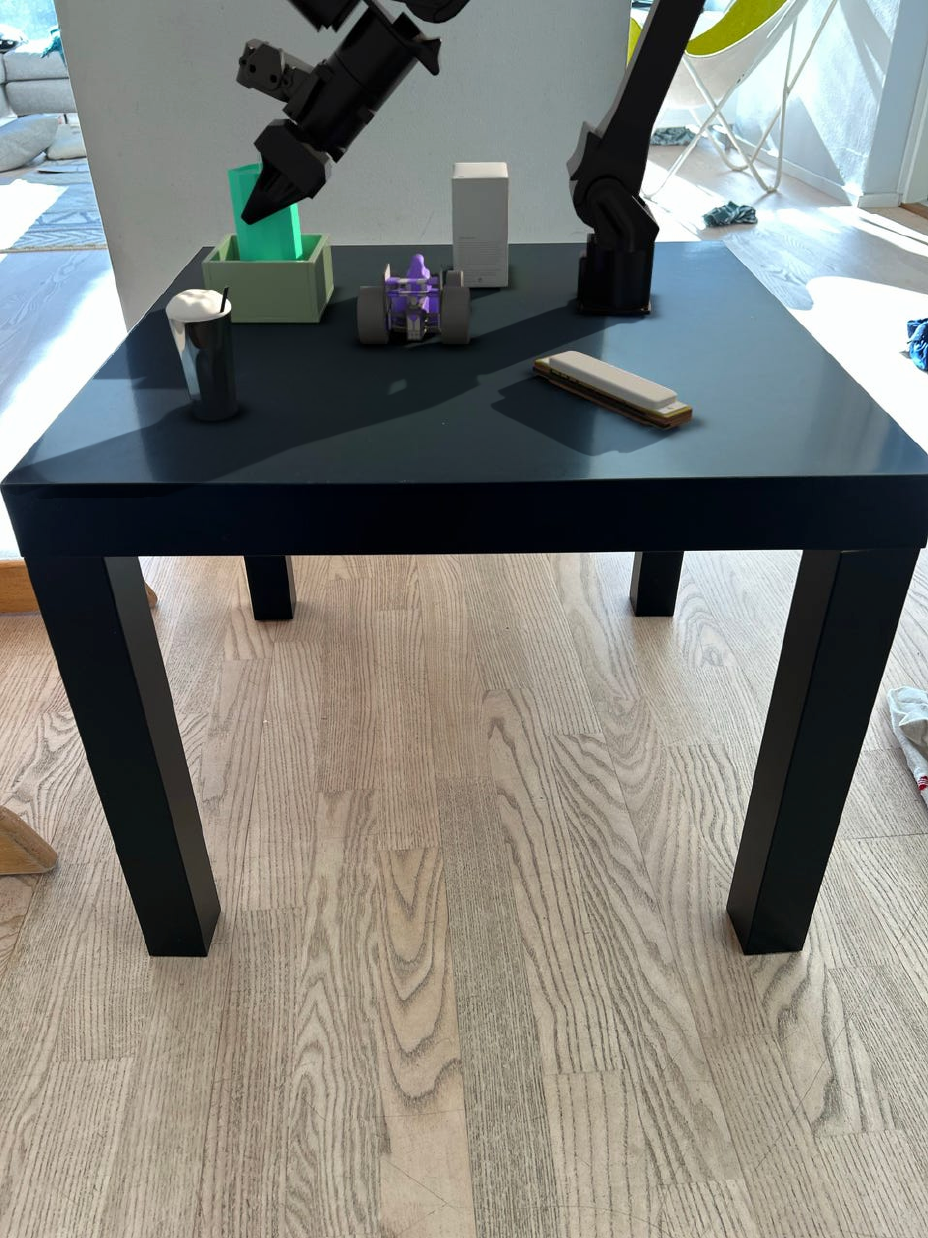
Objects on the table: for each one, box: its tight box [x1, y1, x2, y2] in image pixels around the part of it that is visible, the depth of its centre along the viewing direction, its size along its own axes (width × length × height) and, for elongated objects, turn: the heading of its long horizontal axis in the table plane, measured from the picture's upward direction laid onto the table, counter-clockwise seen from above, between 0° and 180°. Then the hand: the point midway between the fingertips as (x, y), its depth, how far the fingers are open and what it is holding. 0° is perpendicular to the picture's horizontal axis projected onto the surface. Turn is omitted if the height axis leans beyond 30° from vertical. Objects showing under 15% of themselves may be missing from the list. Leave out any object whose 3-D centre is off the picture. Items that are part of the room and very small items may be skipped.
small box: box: [451, 161, 510, 288], centre depth 101 cm, size 8×6×10 cm
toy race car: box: [356, 253, 471, 345], centre depth 91 cm, size 10×15×6 cm, turn 178°
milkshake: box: [165, 286, 238, 422], centre depth 73 cm, size 4×5×10 cm
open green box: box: [201, 233, 335, 324], centre depth 96 cm, size 10×10×6 cm
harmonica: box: [531, 350, 694, 431], centre depth 77 cm, size 15×3×2 cm, turn 37°
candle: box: [226, 149, 303, 261], centre depth 93 cm, size 6×6×12 cm
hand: (251, 213), depth 93 cm, fingers closed on candle, 5 cm apart
